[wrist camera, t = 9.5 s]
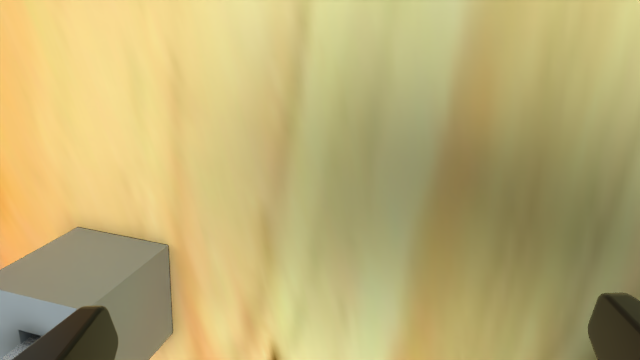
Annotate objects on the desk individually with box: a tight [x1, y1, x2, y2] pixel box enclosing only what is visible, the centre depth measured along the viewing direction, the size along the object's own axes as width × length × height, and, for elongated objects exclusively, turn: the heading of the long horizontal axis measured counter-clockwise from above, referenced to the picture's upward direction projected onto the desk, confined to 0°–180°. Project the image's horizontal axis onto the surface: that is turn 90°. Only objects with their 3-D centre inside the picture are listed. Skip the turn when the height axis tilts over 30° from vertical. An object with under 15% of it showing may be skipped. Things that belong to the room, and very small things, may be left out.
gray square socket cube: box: [0, 227, 173, 360], centre depth 23 cm, size 6×6×6 cm
